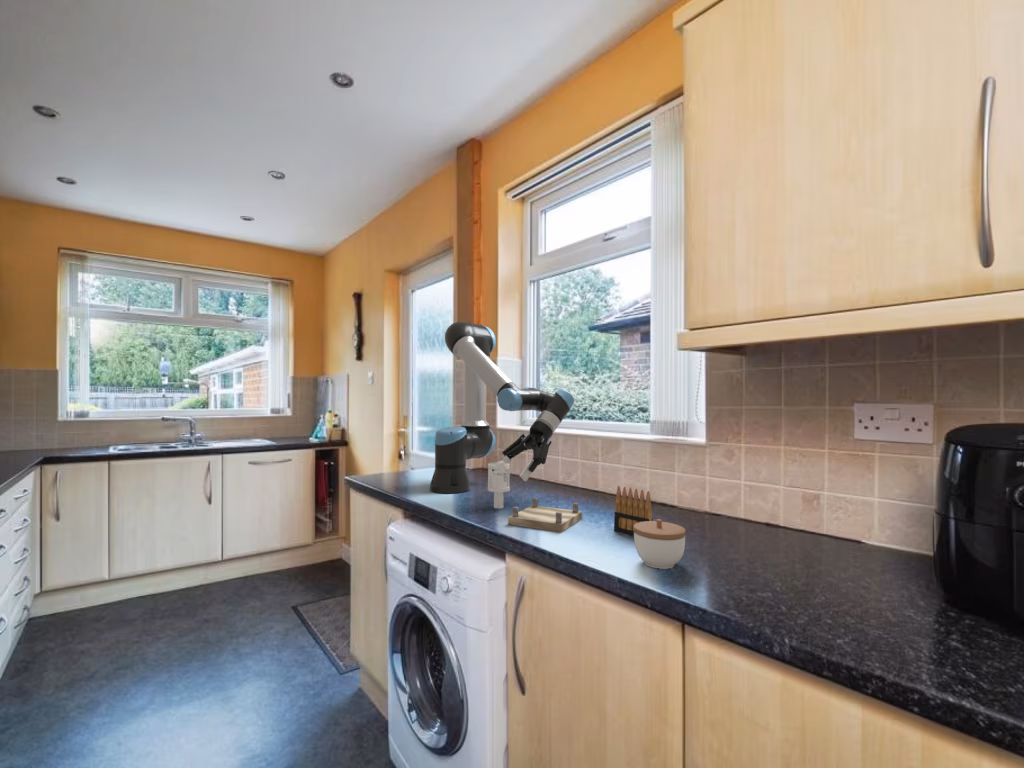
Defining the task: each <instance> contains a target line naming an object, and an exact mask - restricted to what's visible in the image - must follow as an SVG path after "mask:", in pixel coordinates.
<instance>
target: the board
mask: <svg viewBox="0 0 1024 768" xmlns="http://www.w3.org/2000/svg"><path fill="white" fill-rule="evenodd" d="M531 500H532V505H530V506H528V507H526V508H524V509H522V510H520V511H519V506H512V514H511V515H510V516H508V517H507V523H508V525H511V526H519V527H525V528H532V529H538V530H547V531H552V532H559V533H563V532H564V531H566V530H567V529H568V528H570V527H572V526H573V525H575V524H576V523H577V522H579V521H580V520H582V519H583V511H581V510H579V502H572V509H565V508H557V507H548V506H541V505H539V503H538V501H539V499H538V497H533V498H532V499H531Z"/></svg>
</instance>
